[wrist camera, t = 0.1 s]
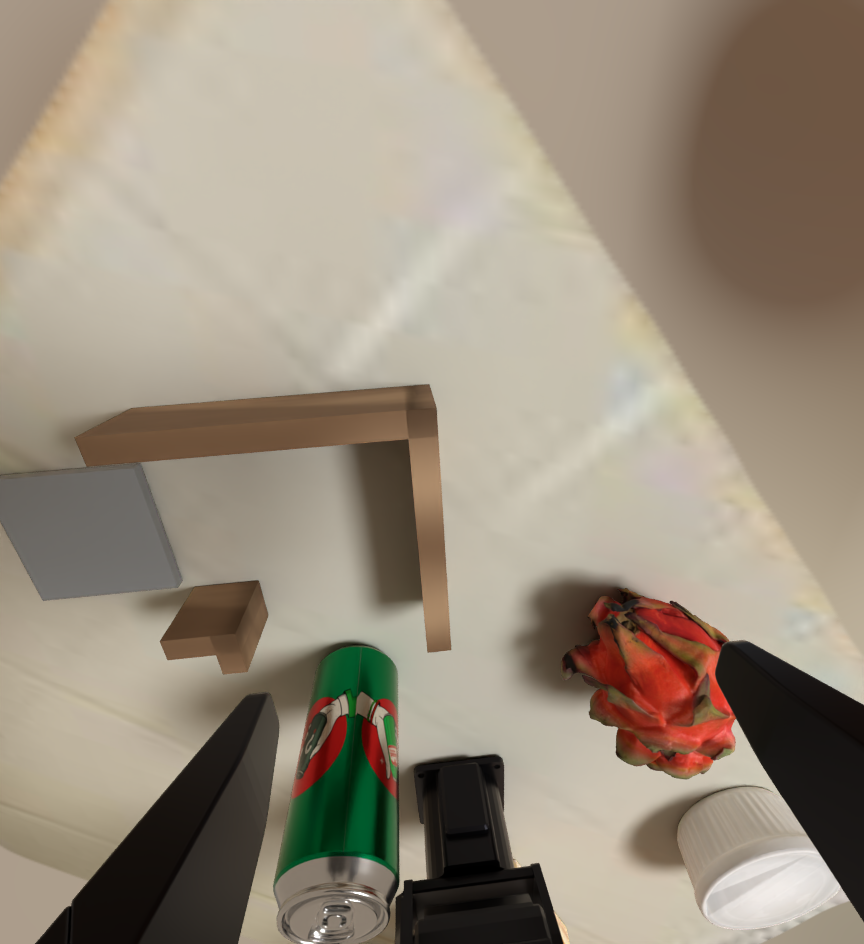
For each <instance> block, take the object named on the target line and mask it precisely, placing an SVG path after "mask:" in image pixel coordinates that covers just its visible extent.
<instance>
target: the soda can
mask: <svg viewBox="0 0 864 944" xmlns="http://www.w3.org/2000/svg"><path fill="white" fill-rule="evenodd" d="M398 887H399V758H398V673H397V669H396V666H395V664H394V663H393V661H392V660H391V659H390V658H389V657H388V656H386V655H385V654H384V653H383V652H381V651H379V650H377V649H375V648H373V647H370V646H365V645H350V646H346V647H343V648H340V649H338V650H336V651H334V652H332V653H331V654H329V655H328V656H326V657H325V658H324V659H323V660H322V661H321V662H320V664H319V665H318V667H317V669H316V673H315V678H314V683H313V688H312V693H311V698H310V703H309V708H308V713H307V718H306V723H305V728H304V733H303V739H302V744H301V749H300V754H299V759H298V764H297V769H296V774H295V779H294V784H293V789H292V794H291V799H290V804H289V809H288V814H287V819H286V824H285V829H284V834H283V839H282V844H281V849H280V854H279V859H278V864H277V869H276V874H275V879H274V884H273V891H274V895H275V898H276V901H277V904H278V908H279V912H278V915H277V927H278V930H279V932H280V933H281V934H282V935H283V936H284V937H285V938H287V939H288V940H290V941H292V942H294V943H297V944H359V943H362V942H365V941H367V940H370V939H371V938H373V937H375V936H377V935H378V934H380V933H381V932H382V931H383V930H384V929H385V927H386V926H387V924H388V922H389V919H390V908H389V906H390V904H391V902H392V900H393V898H394V896H395V894H396V892H397V889H398Z"/></svg>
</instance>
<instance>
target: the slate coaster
mask: <svg viewBox="0 0 864 944" xmlns="http://www.w3.org/2000/svg"><path fill="white" fill-rule="evenodd" d="M0 522H1V524H2V526H3V527H4V529H5V531H6V533H7V535H8V537H9V539H10V540H11V542H12V544H13V546H14V548H15V550H16V552H17V554H18V555H19V557H20V559H21V561H22V563H23V565H24V567H25V568H26V570H27V572H28V574H29V576H30V578H31V580H32V582H33V583H34V585H35V587H36V589H37V591H38V593H39V595H40V596H41V598H42V600H43V601H46V600H56V599H66V598H76V597H86V596H97V595H107V594H117V593H127V592H137V591H148V590H158V589H168V588H178V587H179V585H180V584H181V582H182V581H183V580H182V577H181V574H180V571H179V569H178V566H177V563H176V560H175V558H174V555H173V552H172V549H171V547H170V544H169V541H168V538H167V536H166V533H165V530H164V527H163V525H162V522H161V519H160V516H159V514H158V511H157V508H156V505H155V503H154V500H153V497H152V494H151V491H150V489H149V486H148V483H147V480H146V478H145V475H144V472H143V469H142V467H141V464H140V463H137V464H126V465H114V466H102V467H91V468H79V469H67V470H55V471H44V472H32V473H20V474H9V475H0Z"/></svg>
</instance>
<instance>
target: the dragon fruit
mask: <svg viewBox="0 0 864 944" xmlns="http://www.w3.org/2000/svg"><path fill="white" fill-rule="evenodd" d="M617 590H619V591H620V592H621V595H622V596H623V600H622V602H621V603H618V602H616V601H614V599H612V598H611V597H609V596H601V597H600V598H599V600H598V602H597V603H595V606H594V608H593V609H592V611H591V612H590V613H589V615H588V616H587V617H588V618H591V624H592V626H594V629H595V627H596V626H597V630H598V634H599V635H600V640H593V641H591V642H590V643H589V645H588V646H580V645H577V646H575V647H576V648H575V649H572V650H570V651H568V652H567V653H566V654H565V655H564V656H563V658H562V660H561V674H562V678H563V680H566V679H570V678H571V676H572V675H573V674H574V673H578V672H579V673H586V674H588V675H590V676H591V677H593V678H595V679H596V680H595V679H593V678H591V677H588V676H584V675H582V677H583V679H584V681H585V682H586V683H587V684H588V685H591V686H594V687H596V688H599V690H597V691H596V692H595V693H594V694H593V696H592V698H591V700H590V711H589V715H590V718H591V719H595V720H597V721H599V722H601V723H602V724H603V725H605V726H611V727H612V726H615V727H618V731H617V735H616V755H617V757H619V758H620V759H621V760H623V761H624V762H626V763H628V764H631V765H633V766H642V765H645V764H646V765H647V766H648V767H649V768H650V769H653V770H656V771H664V772H665V773H667V774H668V775H671V776H672V777H674V778H679V779H689V778H691V777H692V776H695V775H697V774H699V773H701V774H704V773H705V772H707V771H708V770H709V769H710V767H711V765H712V763H713V760H719V759H720V758H722V757H724V756H727V755H730V754H731V753H733V752H734V750H735V743H736V742H735V737H734V735H733V734H732V732H731V727H732V725H733V722H734V720H735V719H736V717H735V715H734V714H733V712H732V710H731V708H730V706H729V704H728V702H727V700H726V699H725V697H724V695H723V693H722V691H721V689H720V687H719V686H718V683H717V681H716V677H715V669H716V665H717V661H718V658H719V654H720V650H721V647H722V645H723V644H724V643H725V642H730V641H729V640H728V639H727V637H726V636H725V635H723V634H722V633H721V632H720V631H719V630H717V629H716V628H714V627H711V626H710V625H709V624H707V623H705V622H703V621H702V620H700V619H699V618H698V617H697V616H695V615H692V614H691V613H690V612H689V611H688V610H687V609H685V608H684V607H682V606H681V605H679V604H678V603H677V602H674V601H670V604H669V603H665V602H662V601H659V600H655V599H650V598H646V597H644V596H640V595H638V594H637V593H635V592H632V591H629V590H628V589H627V588H625V589H617ZM671 604H672V605H671Z"/></svg>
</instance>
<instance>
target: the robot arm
mask: <svg viewBox="0 0 864 944" xmlns="http://www.w3.org/2000/svg"><path fill="white" fill-rule="evenodd" d="M715 677H716V681H717V683H718V686H719V687H720V689H721V691H722V693H723V695H724V697H725V699H726V700H727V702H728V704H729V706H730V708H731V710H732V712H733V714H734V715H735V717H736V719H737V721H738V723H739V725H740V727H741V728H742V730H743V732H744V734H745V736H746V738H747V740H748V741H749V743H750V745H751V747H752V749H753V751H754V752H755V754H756V756H757V758H758V759H759V761H760V763H761V765H762V766H763V768H764V769H765V771H766V773H767V774H768V776H769V777H770V779H771V780H772V782H773V783H774V785H775V787H776V788H777V790H778V791H779V793H780V794H781V796H782V797H783V799H784V800H785V802H786V803H787V805H788V806H789V808H790V810H791V811H792V813H793V814H794V816H795V817H796V819H797V820H798V822H799V823H800V825H801V826H802V828H803V829H804V831H805V833H806V834H807V836H808V837H809V839H810V840H811V842H812V843H813V845H814V846H815V848H816V849H817V851H818V852H819V854H820V856H821V857H822V859H823V860H824V862H825V863H826V865H827V866H828V868H829V869H830V871H831V872H832V874H833V875H834V877H835V879H836V880H837V882H838V883H839V885H840V886H841V888H842V889H843V891H844V892H845V894H846V895H847V897H848V899H849V900H850V902H851V903H852V905H853V906H854V908H855V909H856V911H857V912H858V914H859V915H860V917H861V918H862V920H863V922H864V705H863V704H861V703H859V702H857V701H856V700H854V699H852V698H850V697H848V696H847V695H845V694H843V693H841V692H839V691H838V690H836V689H834V688H832V687H830V686H828V685H827V684H825V683H823V682H821V681H819V680H818V679H816V678H814V677H812V676H810V675H808V674H807V673H805V672H803V671H801V670H799V669H798V668H796V667H794V666H792V665H790V664H789V663H787V662H785V661H783V660H781V659H779V658H778V657H776V656H774V655H772V654H770V653H769V652H767V651H765V650H763V649H761V648H760V647H758V646H756V645H754V644H752V643H750V642H748V641H744V640H739V641H730V642H725V643H724V644H723V645H722V647H721V650H720V654H719V658H718V661H717V665H716V669H715ZM278 737H279V720H278V716H277V713H276V710H275V706H274V703H273V700H272V697H271V695H270V694H269V693H268V692H263V693H253V694H249V695H247V696H246V697H244V699H243V700H242V701H241V702H240V703H239V704H238V706H237V707H236V708H235V709H234V710H233V711H232V713H231V714H230V715H229V716H228V717H227V719H226V720H225V721H224V722H223V723H222V724H221V726H220V727H219V728H218V729H217V730H216V731H215V733H214V734H213V735H212V736H211V737H210V739H209V740H208V741H207V742H206V743H205V744H204V746H203V747H202V748H201V749H200V750H199V752H198V753H197V754H196V755H195V756H194V757H193V759H192V760H191V761H190V762H189V763H188V764H187V766H186V767H185V768H184V769H183V770H182V772H181V773H180V774H179V775H178V776H177V777H176V779H175V780H174V781H173V782H172V783H171V785H170V786H169V787H168V788H167V789H166V790H165V792H164V793H163V794H162V795H161V796H160V798H159V799H158V800H157V801H156V802H155V803H154V805H153V806H152V807H151V808H150V809H149V810H148V812H147V813H146V814H145V815H144V816H143V818H142V819H141V820H140V821H139V822H138V823H137V825H136V826H135V827H134V828H133V829H132V831H131V832H130V833H129V834H128V835H127V836H126V838H125V839H124V840H123V841H122V842H121V844H120V845H119V846H118V847H117V848H116V849H115V851H114V852H113V853H112V854H111V855H110V856H109V858H108V859H107V860H106V861H105V862H104V864H103V865H102V866H101V867H100V868H99V869H98V871H97V872H96V873H95V874H94V875H93V877H92V878H91V879H90V880H89V881H88V882H87V884H86V885H85V886H84V887H83V888H82V890H81V891H80V892H79V893H78V894H77V895H76V897H75V898H74V899H73V901H72V903H71V906H68V907H66V908H65V909H64V911H63V912H62V913H61V914H60V915H59V916H58V918H57V919H56V920H55V921H54V923H52V925H51V926H50V927H49V928H48V929H47V930H46V932H45V933H44V934H43V935H42V936H41V938H40V939H39V940H38V941H37V942H36V943H35V944H238V941H239V937H240V933H241V928H242V924H243V920H244V916H245V912H246V908H247V903H248V899H249V895H250V891H251V887H252V882H253V878H254V874H255V870H256V866H257V861H258V857H259V853H260V849H261V845H262V841H263V836H264V831H265V827H266V821H267V815H268V809H269V802H270V795H271V787H272V780H273V773H274V766H275V759H276V752H277V744H278ZM414 778H415V786H416V794H417V802H418V810H419V818H420V823H422V824H424V834H425V853H426V872H427V880H419V881H413V880H405V881H404V891H403V893H401V894H400V895H399V896H397V897H396V933H395V944H564V943H563V940H562V936H561V933H560V929H559V926H558V923H557V920H556V916H555V913H554V910H553V906H552V903H551V900H550V897H549V893H548V890H547V887H546V884H545V880H544V877H543V874H542V871H541V867H540V864H539V863H535V864H531V866H526V867H518V868H515V867H514V863H513V858H512V853H511V848H510V843H509V838H508V833H507V828H506V823H505V818H504V813H503V812H504V763H503V759H502V758H501V757H489V758H480V759H472V760H463V761H455V762H446V763H438V764H429V765H421V766H417V767H416V768H415V769H414Z"/></svg>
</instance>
